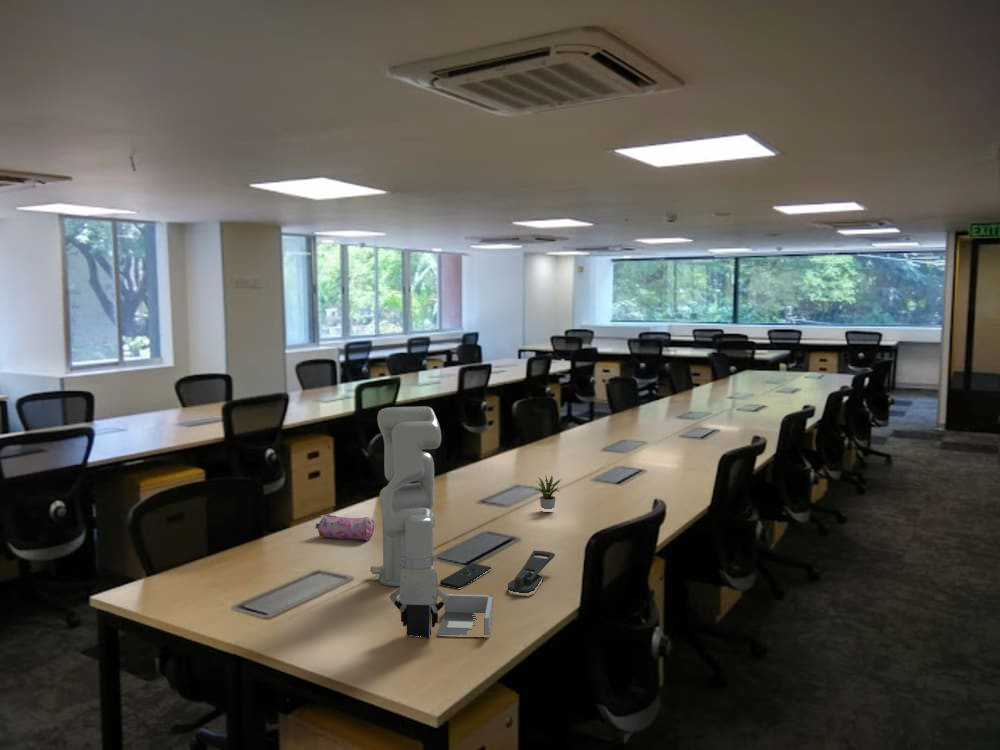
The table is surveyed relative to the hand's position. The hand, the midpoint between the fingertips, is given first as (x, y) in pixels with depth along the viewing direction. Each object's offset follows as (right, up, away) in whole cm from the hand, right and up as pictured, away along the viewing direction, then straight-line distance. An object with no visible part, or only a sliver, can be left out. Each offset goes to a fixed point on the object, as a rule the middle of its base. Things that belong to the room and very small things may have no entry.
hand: (419, 624), depth 200 cm
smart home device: (+11, 0, +43) cm, 45 cm away
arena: (+12, -2, +7) cm, 14 cm away
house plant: (+43, +8, +121) cm, 129 cm away
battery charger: (0, -3, 0) cm, 3 cm away
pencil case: (-38, +4, +84) cm, 93 cm away
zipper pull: (+32, 0, +39) cm, 51 cm away
